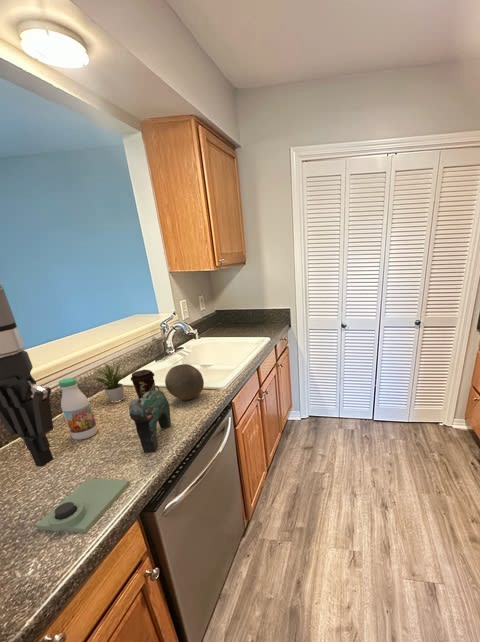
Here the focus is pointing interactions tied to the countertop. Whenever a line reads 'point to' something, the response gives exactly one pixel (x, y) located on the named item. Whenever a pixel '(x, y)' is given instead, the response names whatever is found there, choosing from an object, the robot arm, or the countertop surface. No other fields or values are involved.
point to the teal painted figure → (150, 417)
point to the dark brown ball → (184, 382)
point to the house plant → (111, 383)
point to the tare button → (65, 510)
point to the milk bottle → (77, 410)
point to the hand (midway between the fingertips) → (45, 462)
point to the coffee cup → (143, 381)
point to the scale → (86, 505)
